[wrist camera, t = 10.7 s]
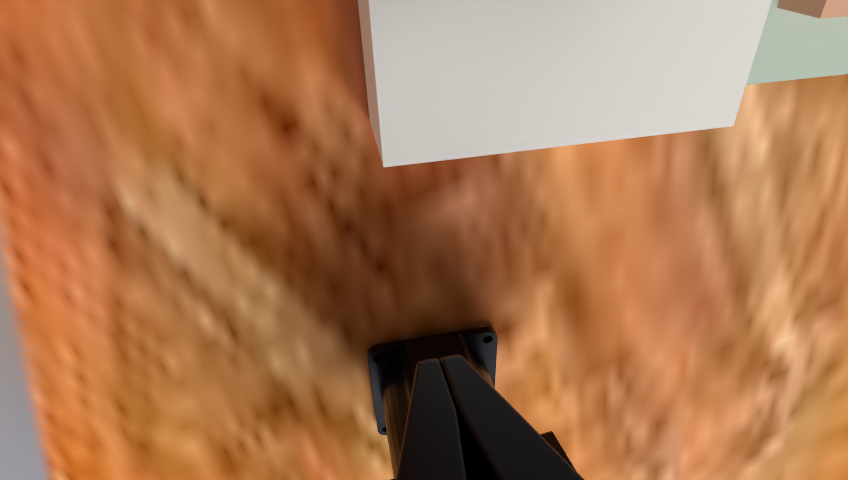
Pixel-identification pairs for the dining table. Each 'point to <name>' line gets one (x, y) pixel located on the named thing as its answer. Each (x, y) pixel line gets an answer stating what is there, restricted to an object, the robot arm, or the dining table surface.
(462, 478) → the robot arm
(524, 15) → the board
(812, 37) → the mat
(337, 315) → the dining table surface
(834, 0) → the tile
